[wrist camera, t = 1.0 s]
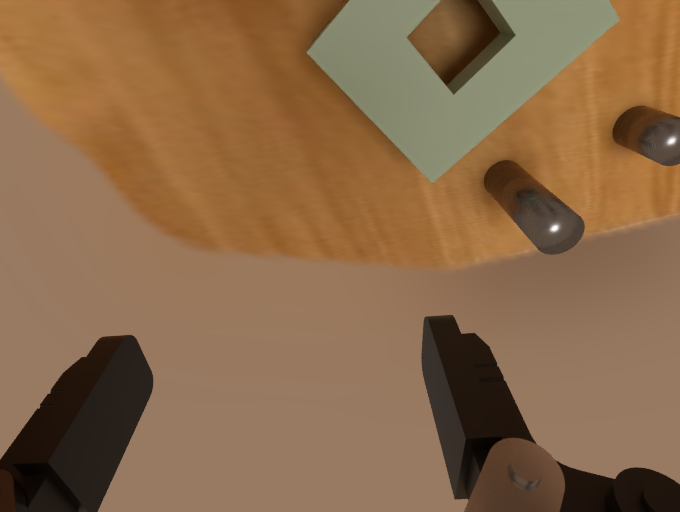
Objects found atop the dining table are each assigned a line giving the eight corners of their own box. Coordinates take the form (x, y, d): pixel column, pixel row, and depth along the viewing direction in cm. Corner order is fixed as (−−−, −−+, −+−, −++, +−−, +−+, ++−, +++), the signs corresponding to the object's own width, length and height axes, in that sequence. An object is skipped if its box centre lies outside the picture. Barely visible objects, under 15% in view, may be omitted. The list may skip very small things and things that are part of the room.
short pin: (644, 97, 31) (693, 111, 27) (660, 125, 32) (710, 143, 28) (605, 126, 32) (647, 145, 28) (622, 153, 34) (665, 174, 29)
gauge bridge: (467, -148, 23) (506, -190, 18) (567, 17, 28) (619, 19, 23) (310, 44, 29) (306, 52, 24) (416, 156, 33) (432, 183, 28)
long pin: (508, 152, 33) (569, 202, 25) (528, 177, 35) (593, 233, 26) (477, 178, 34) (525, 234, 26) (497, 201, 36) (550, 262, 27)
